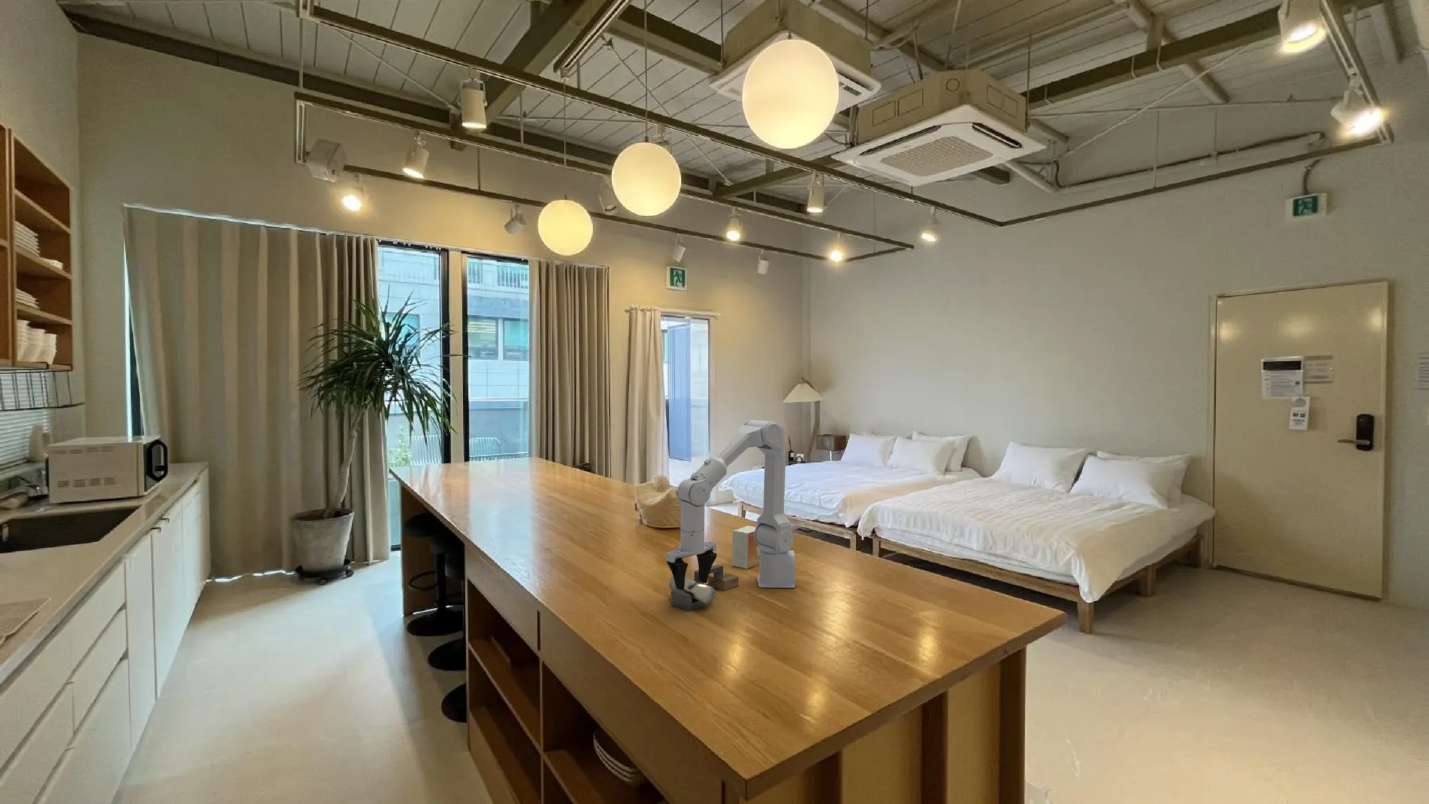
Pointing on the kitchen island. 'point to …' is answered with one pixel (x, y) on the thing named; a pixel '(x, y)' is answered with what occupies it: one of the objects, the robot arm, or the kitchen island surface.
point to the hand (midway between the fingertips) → (691, 585)
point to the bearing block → (719, 578)
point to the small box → (745, 548)
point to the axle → (696, 590)
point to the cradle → (684, 600)
